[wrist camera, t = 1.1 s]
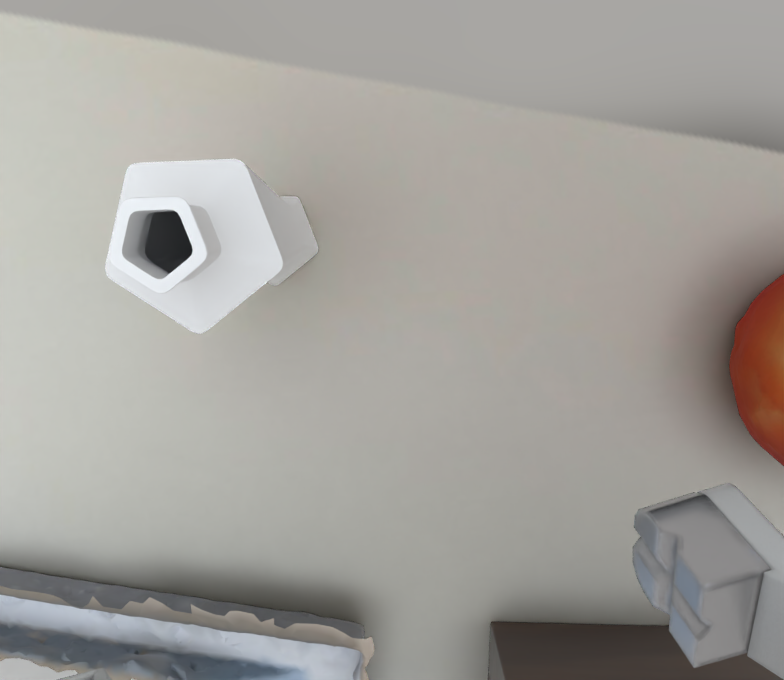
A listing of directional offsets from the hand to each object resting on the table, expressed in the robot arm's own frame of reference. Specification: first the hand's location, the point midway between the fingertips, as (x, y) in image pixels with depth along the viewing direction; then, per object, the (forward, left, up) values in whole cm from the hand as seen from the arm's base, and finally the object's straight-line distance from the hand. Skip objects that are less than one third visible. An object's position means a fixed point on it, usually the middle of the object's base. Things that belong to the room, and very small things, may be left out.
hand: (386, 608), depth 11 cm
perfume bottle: (-1, -7, -21) cm, 22 cm away
